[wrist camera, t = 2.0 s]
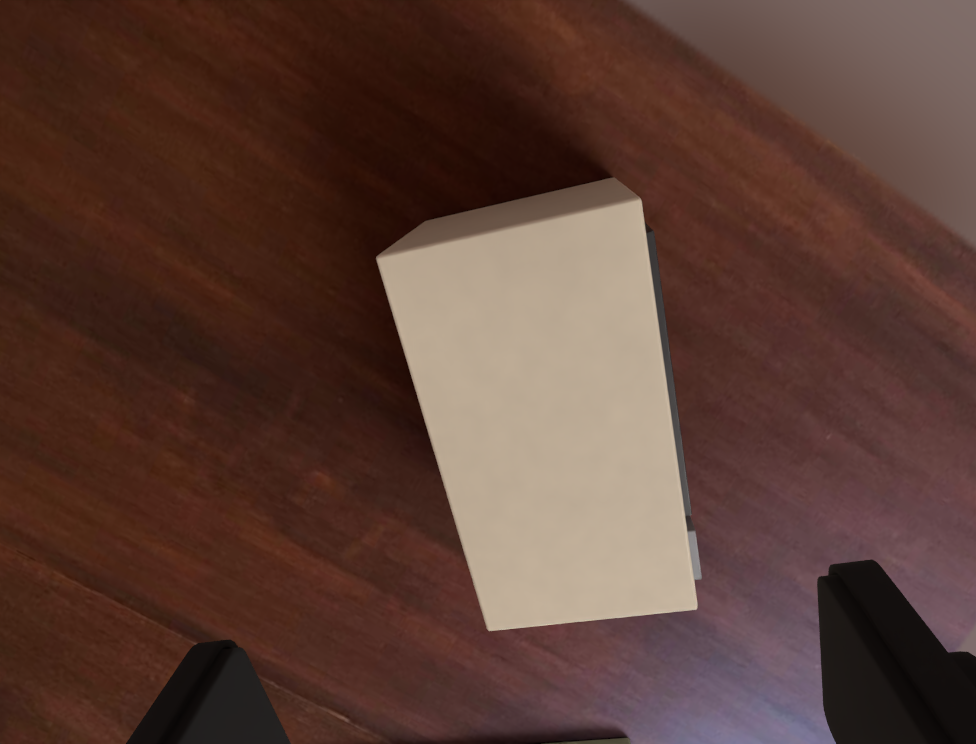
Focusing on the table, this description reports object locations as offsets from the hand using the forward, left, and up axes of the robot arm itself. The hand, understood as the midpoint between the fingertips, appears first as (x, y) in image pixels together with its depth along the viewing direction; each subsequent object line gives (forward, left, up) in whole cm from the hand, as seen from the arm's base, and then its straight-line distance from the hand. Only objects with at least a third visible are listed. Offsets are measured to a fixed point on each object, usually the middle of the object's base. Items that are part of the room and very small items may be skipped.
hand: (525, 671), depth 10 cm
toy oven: (-1, 0, -13) cm, 13 cm away
